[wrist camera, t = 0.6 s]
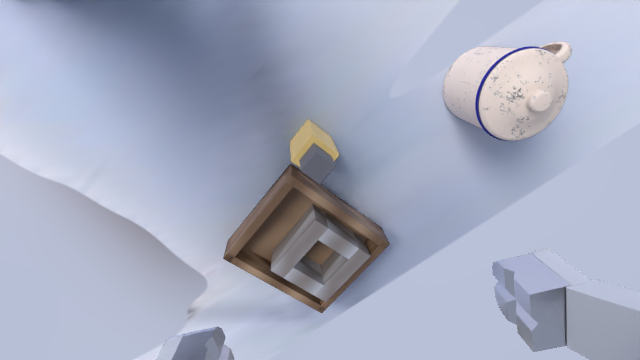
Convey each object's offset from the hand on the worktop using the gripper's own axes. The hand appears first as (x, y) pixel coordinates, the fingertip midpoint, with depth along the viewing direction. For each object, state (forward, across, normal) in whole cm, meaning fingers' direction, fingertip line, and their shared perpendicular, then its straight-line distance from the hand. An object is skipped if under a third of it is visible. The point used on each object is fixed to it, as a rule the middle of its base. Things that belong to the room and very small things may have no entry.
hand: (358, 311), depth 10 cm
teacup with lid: (+34, -21, -1) cm, 40 cm away
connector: (+33, +1, +1) cm, 33 cm away
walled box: (+34, +5, +14) cm, 38 cm away
